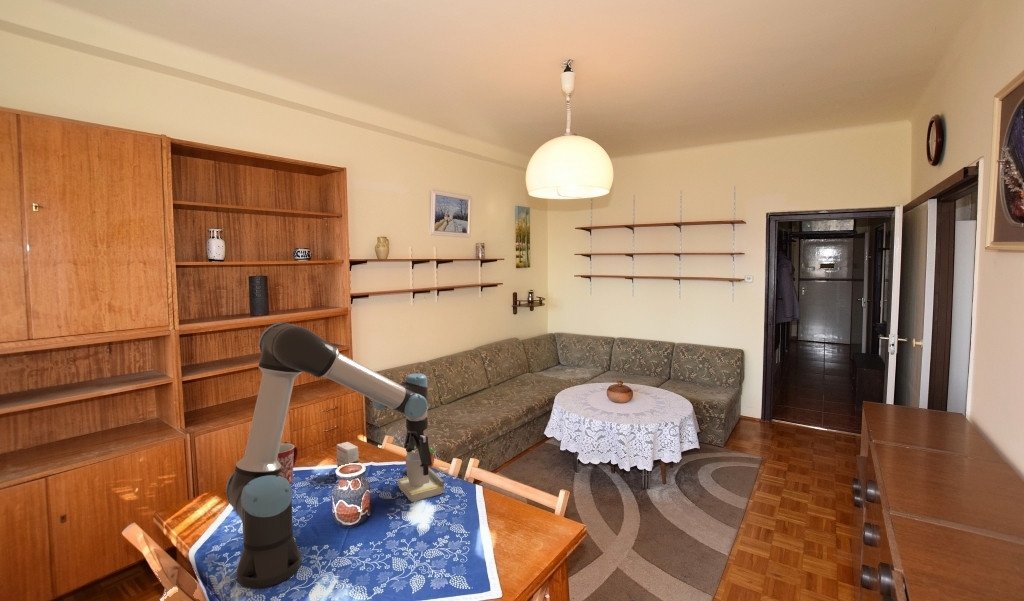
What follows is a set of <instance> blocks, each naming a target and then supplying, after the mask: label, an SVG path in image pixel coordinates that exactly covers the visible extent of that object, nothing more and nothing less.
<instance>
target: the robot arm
mask: <svg viewBox="0 0 1024 601" xmlns="http://www.w3.org/2000/svg"><path fill="white" fill-rule="evenodd" d="M258 347H259V351H260V357H259V363H258V369H259V370H260V371H261V373H262V377H261V379H260V383H259V389H258V393H257V398H256V402H255V406H254V412H253V416H252V420H251V423H250V424H251V425H250V429H249V433H248V437H247V441H246V442H247V443H246V446H245V451H244V455H243V457H242V458H240V459H239V460H238V461H237V462H236V463H235V468H234V471H233V472H232V474H230V476H229V478H228V480H227V482H226V485H225V493H226V498H227V502H229V505H230V506H231V507H232V508H233V509H234V511H235V512H236V515H238V517H239V518H240V520H241V521H242V538H243V540H242V541H243V549H242V551H241V555H240V558H239V561H238V564H237V568H236V579H237V583H238V584H239V585H240V586H242V587H244V588H248V589H260V588H267V587H272V586H274V585H277V584H280V583H282V582H284V581H287V579H289V578H291V577H293V576H294V574H296V573H297V571H298V570H299V569H300V567H301V564H302V560H301V559H302V555H301V551H300V549H299V547H298V544H297V543H296V539H295V538H294V534H293V533H294V532H293V531H294V528H293V501H292V500H293V491H292V487H291V486H292V485H291V484H290V483H289V481H288V480H287V479H285V478H283V477H281V476H279V474H280V470H281V464H280V463H279V462H278V460H277V457H278V452H279V448H280V444H282V438H283V435H284V434H283V433H284V430H285V429H284V428H285V424H286V419H287V415H288V412H289V408H290V401H291V397H292V393H293V388H294V384H295V383H294V382H295V379H296V378H297V377H298V376H299V375H301V374H302V372H303V373H307V374H309V375H311V376H314V377H315V378H323V377H325V378H326V379H329V380H331V381H333V382H335V383H337V384H339V385H341V386H344V387H346V388H347V389H350V390H352V391H354V392H356V393H358V394H360V395H363V396H364V397H367V398H369V399H370V400H371V401H372V405H373V406H374V408H375V409H376V410H386V409H390V410H393V411H395V412H396V413H399V414H401V415H403V416H405V418H406V420H405V428H406V434H405V440H404V443H403V445H404V446H403V447H404V449H405V451H406V455H408V454H410V453H414V452H415V451H416V449H415V448H418V452H419V456H420V460H421V465H420V467H421V484H426V483H429V465H432V462H431V456H430V450H429V448H430V446H429V437H428V435H425V434H424V431H425V430H427V429H428V427H429V426H428V424H429V423H428V422H429V421H428V420H429V419H428V410H429V406H428V388H429V386H428V378H427V375H425V374H423V373H417V372H416V373H410V374H407V375H405V379H404V381H403V382H399V383H398V382H395V381H394V380H392V379H390V378H388V377H386V376H384V375H382V374H380V373H378V372H376V371H375V370H373V369H370V368H369V367H367V366H365V365H363V364H361V363H360V362H357V361H355V360H354V359H352V358H350V357H349V356H346V355H344V354H343V353H340V352H339V349H338V347H337V346H336V345H333V344H331V343H330V342H328V341H327V340H325V339H323V338H322V337H320V336H319V335H318V334H316V333H315V332H314V331H311V330H310V329H309V328H306V327H303V326H299V325H298V324H297V325H296V324H294V323H290V322H279V323H274V324H271V325H270V326H269V327H267V328H266V329H265V330H264V331H263V332H262V333H261V335H260V338H259V340H258Z"/></svg>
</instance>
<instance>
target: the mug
mask: <svg viewBox="0 0 1024 601" xmlns="http://www.w3.org/2000/svg"><path fill="white" fill-rule="evenodd" d="M298 451H299V450H298V447H297V446H296V445H294V444H292V443H280V448H279V452H278V457H277V460H278V462H279V463H280V464H281V470H280V474H279V476H281V477H283V478H285V479H287V480H288V481H289V483H290V485H291V484H292V483H293V482H294V467H295V465H296V462H297V459H298V453H299V452H298Z"/></svg>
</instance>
